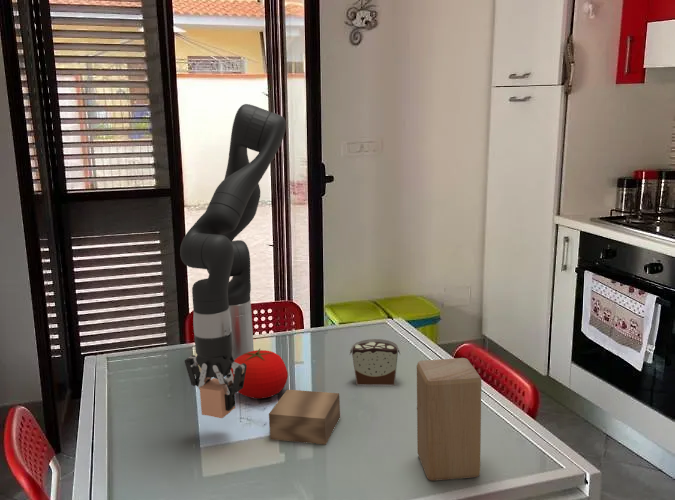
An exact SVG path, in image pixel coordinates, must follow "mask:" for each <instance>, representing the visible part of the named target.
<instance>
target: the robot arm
mask: <svg viewBox="0 0 675 500" xmlns="http://www.w3.org/2000/svg"><path fill="white" fill-rule="evenodd" d="M231 127H232V128H231V132H230V133H231V134H230V135H231V136H230V141H229V142H230V143H229V152H228V161H227V164H226V165H227V166H226V171H225V175H224V179H223V180H222V181H221V182H220V183H219V184H218V185H217V187H216V188H215V190H214V192H213V195H212V197H211V200H210V201H209V204H208V205H207V208H206V210H205V211H204V213H203V214H202V215H201V216H200V217H199V218H198V219H197V221H195V223H194V224H193V225H192V226H191V227H190V229H189V230H188V231H187V232H186V233H185V235H184V236H183V239H182V240H181V244H180V248H179V252H180V253H179V256H180V259H181V261H182V263H183V264H184V265H185V266H187V267H188V268H191V269H198V270H199V269H200V270H206V271H207V273H208V277H207V278H202V279H199V280H197V281H195V282H194V283H193V285H192V287H191V288H192V289H191V293H192V295H191V296H192V308H193V319H192V321H193V324H192V325H193V333H194V334H193V335H194V336H193V337H194V345H195V346H194V349H195V350H194V351H195V354H196V355H194V354H193V355H191V356H189V357H187V358H186V359H184V363H185V364H184V365H185V368H186V371H187V375H188V377H189V382H190V385H191V386H193V387H197V388H198V390H199V391H200V387H201V386H203V385H205V384H206V383H207V382H209V381H211V379H213V378H216V379H218V381H219V383H220V385H222V386H223V389H224V392H225V408H226V411H230V410H231V409H232V408H233V407H234V406H235V407H236V394H237V393H239V392H238V391H240V390H241V389H242V388H243V386H244V380H245V374H246V368H247V365H246V364H245V363H242V364H238V363H236V362H234V360H235V359H236V358H237V357H239V356H241V355H243V353H248V352H251V351H255V349H254V348H255V347H254V334H253V333H254V332H253V317H252V304H251V301H252V300H251V290H252V289H251V288H252V285H251V255H250V250H249V247H248V245H247V243H246V242H245V241H244V240H242V239H241V240H238V239H237V240H234V239H235V238H236V237H238V235H239V234H240V233H242V232H243V231H244V230H245V228H247V227H248V226H249V224H250V223H251V222H252V221H253V219H254V218H255V216H256V214H257V210H258V207H259V203H260V199H261V187H260V184H259V183H260V181H261V179H262V178H263V177H264V175H265V173H266V172H267V170H268V168H269V166H270V165H271V163H272V161H273V160H274V158H275V156H276V154H277V153H278V151H279V149H280V147H281V145H282V143H283V140H284V137H285V134H286V127H287V121H286V118H285V117H284V116H282V115H280V114H278V113H275V112H272V111H270V110H267V109H265V108H261V107H259V106H256V105H254V104H251V103H250V104H248V103H244V104H242V105H240V107H239V108H238V109H237V111H236V113H235V117H234V119H233V123H232V126H231ZM248 149H249V150H251V151H254V152H257V153H258V154H257V155H256V157H254V158H253V159H252V160H251V161H250V159H249V156H248ZM231 277H232V278H231ZM230 278H231V279H230ZM231 368H233V374H234V377H233V374H232V371H231ZM233 378H234V381H233Z"/></svg>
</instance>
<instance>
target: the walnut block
mask: <svg viewBox="0 0 675 500" xmlns="http://www.w3.org/2000/svg"><path fill="white" fill-rule="evenodd" d="M340 402H341V401H340V393H338V392H337V393H336V392H325V391H313V390H312V391H311V390H300V389H299V390H298V389H286V391H284V393H283V395H282V396H281V397H280V398H279V399H278V401H277V402H276V404H275V405H274V406H273V408H272V409H271V410H270V411H269V413H268V422H269V423H268V424H269V436H270V437H269V439H270V440H275V441H284V442H295V443H304V442H305V443H306V442H307V443H306V444H314V443H316V444H317V445H327V443H328V441H329V439H330V438H331V435H332V434H333V432H334V430H335V428H336V426H337V425H338V423H337V422H339V421H340V419H341V405H340ZM339 418H340V419H339ZM338 420H339V421H338ZM336 424H337V425H336ZM335 425H336V426H335ZM334 427H335V428H334ZM333 429H334V430H333ZM332 431H333V432H332ZM331 433H332V434H331Z"/></svg>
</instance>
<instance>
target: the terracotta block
mask: <svg viewBox="0 0 675 500" xmlns="http://www.w3.org/2000/svg"><path fill="white" fill-rule="evenodd" d="M199 397H200V398H199V399H200V407H201V408H200V409H201V410H200V411H201V415H202V416H208V417H212V418H213V417H214V418H218V419H223V418H225V417H226V416H228V414H230V412H232V411H234V410H235V409H236V405H235V406H234V407H233V408H232V409H231V410H230V411H226V408H225V392H224V389H223V386H222V385H220V383H219V381H218V379H216V378H214V377H212V378H211V381H209V382H207V383H206V384H205V385H203V386H201V387H200V390H199Z"/></svg>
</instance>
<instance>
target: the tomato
mask: <svg viewBox="0 0 675 500" xmlns="http://www.w3.org/2000/svg"><path fill="white" fill-rule="evenodd" d="M234 362H236V363H238V364H242V363H245V364H246V365H247V368H246V374H245V380H244V386H243V388H242V389H241V390H240V391H238V392H237V393H239V394H241V395H243V396H244V397H248V398H251V399H258V400H259V399H266V398H270V397H273V396H275V395H277V394H279V393H280V392H281V391H282V390H283V389H284V388H285V386H286V384H287V380H288V377H289V374H288V370H287V366H286V363H285V362H284V360H283V358H282V357H281V356H280V355H279V354H277V353H275V352H273V351H271V350H264V349H261V348H259V349H258V350H254V351H251V352H248V353H243V355H241V356H239V357H237V358H236V359H235V360H234ZM231 371H232V374H233V368H231ZM233 377H234V374H233ZM233 381H234V378H233Z"/></svg>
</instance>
